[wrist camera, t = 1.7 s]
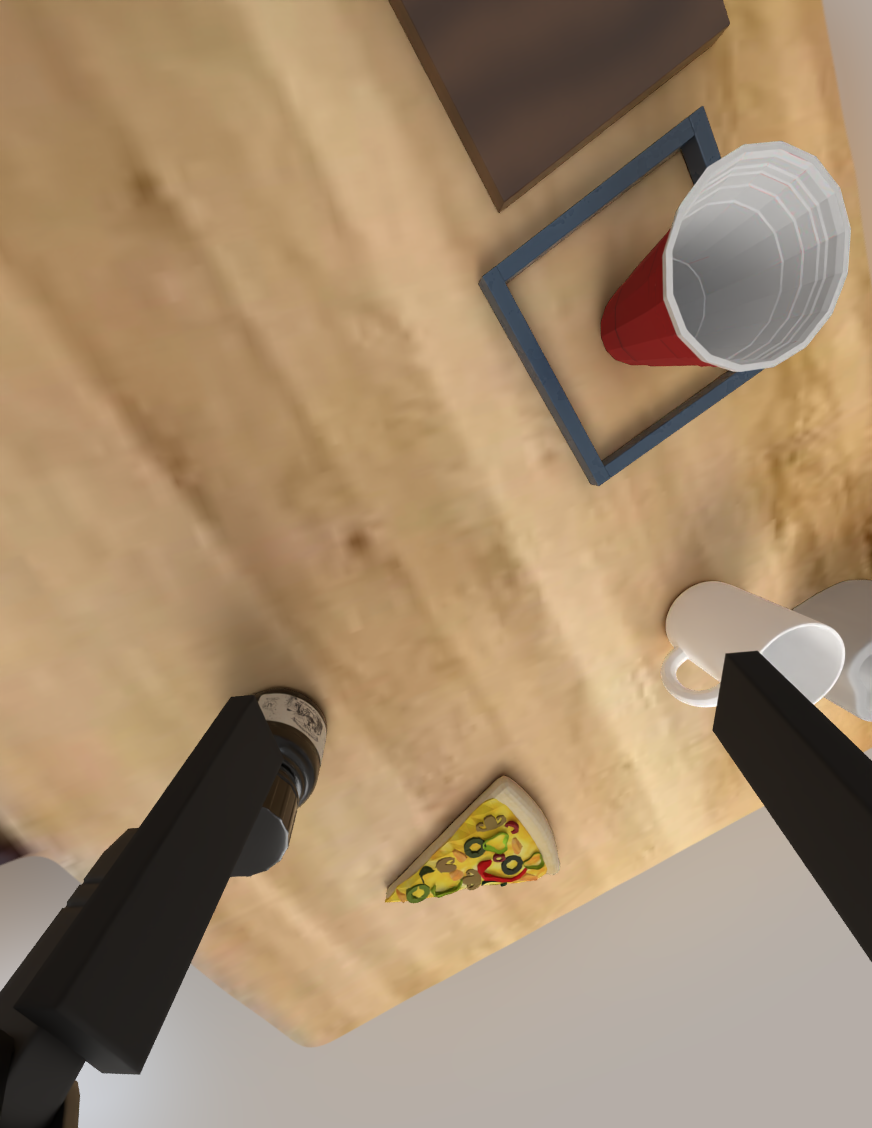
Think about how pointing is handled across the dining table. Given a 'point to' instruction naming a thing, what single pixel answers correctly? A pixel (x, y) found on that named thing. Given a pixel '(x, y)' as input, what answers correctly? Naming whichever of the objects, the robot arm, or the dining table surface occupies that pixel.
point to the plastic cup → (738, 267)
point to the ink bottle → (285, 776)
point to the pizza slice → (483, 848)
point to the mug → (747, 641)
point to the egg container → (848, 641)
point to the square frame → (698, 156)
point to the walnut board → (548, 72)
